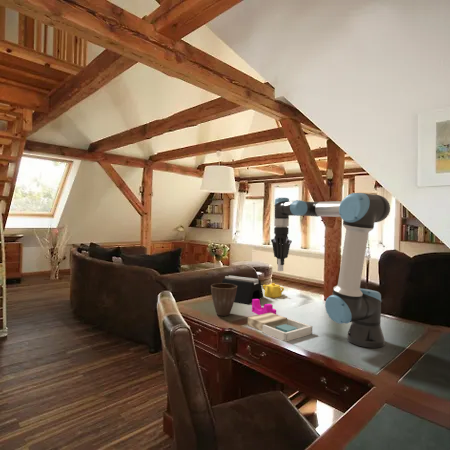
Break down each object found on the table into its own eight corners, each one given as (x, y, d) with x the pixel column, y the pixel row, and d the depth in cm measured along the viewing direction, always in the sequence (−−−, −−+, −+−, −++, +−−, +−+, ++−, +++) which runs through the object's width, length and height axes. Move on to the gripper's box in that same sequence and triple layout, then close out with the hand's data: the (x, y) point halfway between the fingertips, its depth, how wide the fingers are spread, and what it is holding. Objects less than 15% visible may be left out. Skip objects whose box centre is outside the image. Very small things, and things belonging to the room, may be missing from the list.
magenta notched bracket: (276, 317, 179) (276, 304, 179) (266, 319, 176) (266, 305, 176) (260, 311, 192) (261, 298, 192) (251, 312, 189) (252, 299, 189)
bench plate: (287, 325, 164) (287, 318, 164) (264, 331, 155) (264, 323, 155) (270, 320, 174) (270, 312, 174) (247, 325, 164) (247, 317, 164)
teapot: (285, 300, 220) (285, 285, 220) (266, 300, 218) (267, 285, 218) (278, 295, 233) (279, 281, 233) (261, 296, 231) (261, 281, 231)
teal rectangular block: (296, 334, 154) (296, 327, 154) (286, 337, 149) (287, 330, 149) (285, 330, 159) (285, 323, 159) (275, 332, 155) (275, 326, 155)
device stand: (247, 305, 204) (248, 282, 204) (217, 300, 216) (218, 278, 216) (263, 299, 223) (263, 277, 222) (235, 294, 235) (235, 273, 235)
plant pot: (231, 309, 193) (231, 282, 193) (240, 316, 179) (241, 287, 179) (207, 311, 188) (207, 283, 188) (214, 318, 174) (215, 288, 174)
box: (312, 333, 153) (312, 326, 153) (285, 341, 142) (285, 333, 142) (288, 325, 165) (288, 318, 165) (262, 332, 154) (262, 325, 154)
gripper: (295, 227, 171) (294, 272, 171) (277, 226, 181) (276, 268, 181) (285, 227, 166) (284, 273, 166) (267, 226, 176) (266, 269, 177)
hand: (280, 270), depth 174 cm, fingers closed
